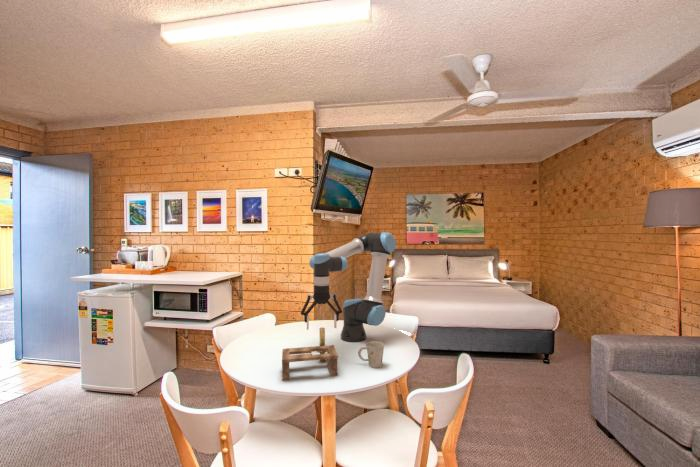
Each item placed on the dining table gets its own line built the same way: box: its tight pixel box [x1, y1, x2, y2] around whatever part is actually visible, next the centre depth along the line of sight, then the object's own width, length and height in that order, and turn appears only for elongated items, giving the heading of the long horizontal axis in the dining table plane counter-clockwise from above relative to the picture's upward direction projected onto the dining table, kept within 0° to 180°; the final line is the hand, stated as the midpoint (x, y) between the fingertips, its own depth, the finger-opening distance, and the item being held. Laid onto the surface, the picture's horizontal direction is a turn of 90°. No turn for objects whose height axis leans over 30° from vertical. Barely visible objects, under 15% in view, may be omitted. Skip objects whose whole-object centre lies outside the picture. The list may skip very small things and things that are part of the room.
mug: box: [357, 340, 385, 369], centre depth 154 cm, size 8×13×10 cm, turn 78°
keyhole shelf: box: [281, 344, 339, 381], centre depth 146 cm, size 24×14×9 cm, turn 101°
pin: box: [315, 327, 327, 363], centre depth 159 cm, size 6×6×16 cm
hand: (321, 328), depth 159 cm, fingers open, 13 cm apart
